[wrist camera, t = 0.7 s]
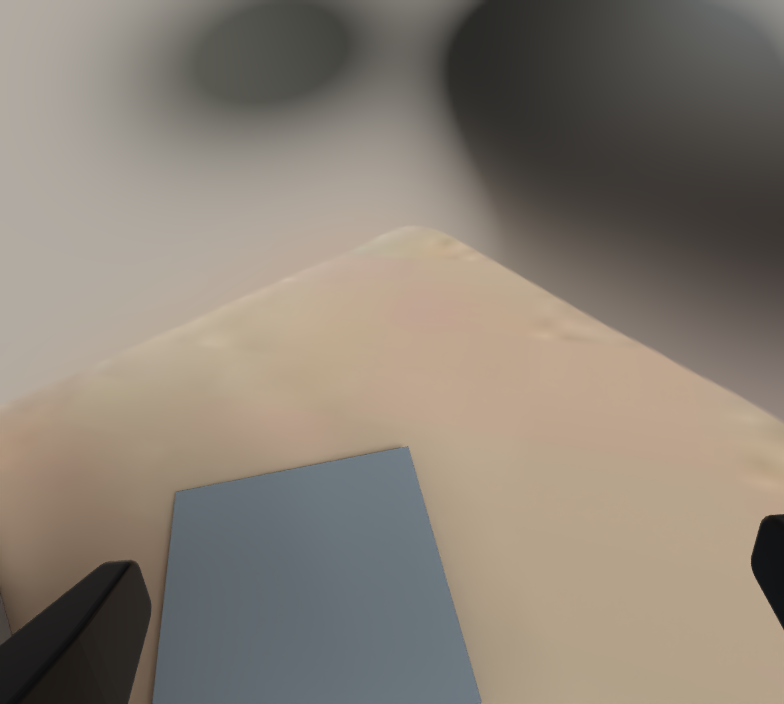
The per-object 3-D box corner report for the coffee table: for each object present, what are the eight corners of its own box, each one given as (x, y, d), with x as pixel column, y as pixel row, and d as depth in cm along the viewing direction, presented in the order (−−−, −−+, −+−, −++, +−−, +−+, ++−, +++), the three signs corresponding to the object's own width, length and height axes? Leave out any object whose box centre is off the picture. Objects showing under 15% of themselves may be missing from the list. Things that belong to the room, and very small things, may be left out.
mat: (480, 706, 20) (481, 701, 20) (148, 792, 19) (142, 789, 18) (408, 453, 29) (408, 446, 28) (179, 498, 27) (175, 491, 27)
